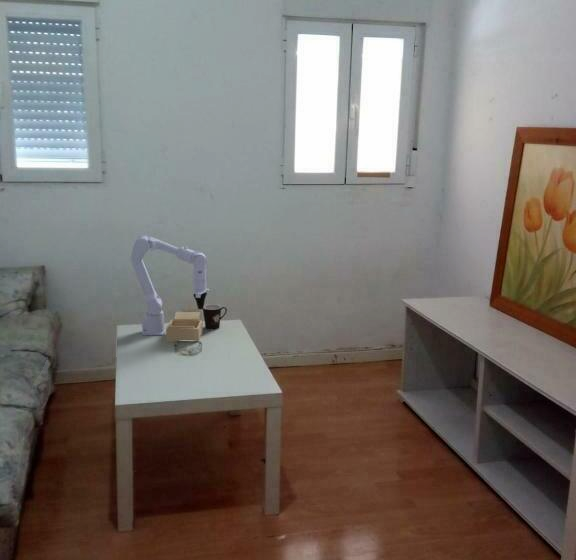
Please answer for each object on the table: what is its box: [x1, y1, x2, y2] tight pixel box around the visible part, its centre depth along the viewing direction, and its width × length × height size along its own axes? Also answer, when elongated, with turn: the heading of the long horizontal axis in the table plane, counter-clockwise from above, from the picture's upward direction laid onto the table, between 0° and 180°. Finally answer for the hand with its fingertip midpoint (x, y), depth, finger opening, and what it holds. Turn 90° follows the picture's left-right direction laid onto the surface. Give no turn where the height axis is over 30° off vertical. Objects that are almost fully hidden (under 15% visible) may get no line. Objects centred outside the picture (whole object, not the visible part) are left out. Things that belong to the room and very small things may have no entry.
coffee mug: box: [202, 303, 228, 331], centre depth 294 cm, size 12×9×10 cm
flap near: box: [166, 325, 195, 328], centre depth 272 cm, size 5×11×1 cm, turn 89°
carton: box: [165, 319, 204, 343], centre depth 281 cm, size 14×12×6 cm
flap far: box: [173, 311, 201, 320], centre depth 287 cm, size 5×11×1 cm, turn 90°
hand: (200, 308), depth 288 cm, fingers closed
